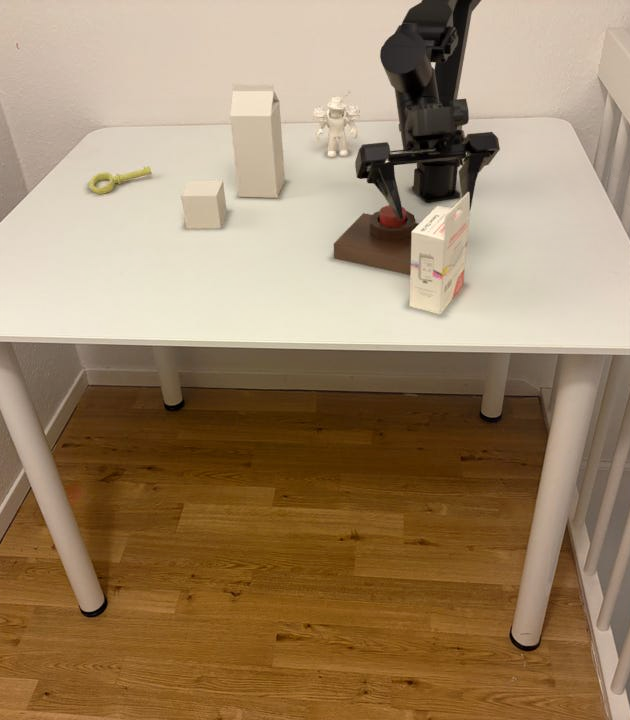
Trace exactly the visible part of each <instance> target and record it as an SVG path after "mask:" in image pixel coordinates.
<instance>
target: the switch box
mask: <svg viewBox="0 0 630 720" xmlns="http://www.w3.org/2000/svg"><path fill="white" fill-rule="evenodd" d="M379 215H380V210H378V211H375V212H373V214H370V213H365V212H363V213H362V214H361V215H360V216H359V217H358V218H357V219H356V220H355V221H354V222H353V223H352V224H351V225H350V226H349V227H348V228H347V229H346V230H345V231H344V232H343V233H342V234H341V235H340V236H339V238H338V239H336V241H334V242H333V259H335V260H338V261H343V262H347V263H352V264H357V265H362V266H366V267H371V268H375V269H380V270H385V271H389V272H394V273H397V274H402V275H403V274H404V275H408V276H410V274H411V237H412V234H411V232H412V231H413V230H414V229H415V228H416V227H417V226H418V225H419V224H420V222H417V220H416V217H415V215H414V214H413V213H412V212H410V211H408V210H406V221H405V223H404V224H402V225H399V226H386V225H382V224H381V223H380V222H379Z"/></svg>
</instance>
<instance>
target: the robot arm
mask: <svg viewBox="0 0 630 720" xmlns="http://www.w3.org/2000/svg"><path fill="white" fill-rule="evenodd" d="M480 2H482V0H421V1H420V2H418V3H417V4H415V5H413V6H412V7H411V8H409V9H408V10H407V13H406V14H405V15H404V18H403V20H402V21H401V24H399V25H398V26H397V28H396V29H395V32H394V33H393V34H392V35H390V36H389V37H388V38H387V39H386V40H385V42H384V43H383V45H382V46H381V47H380V53H379V58H380V63H381V65H382V67H383V69H384V72H385V74H386V76H387V79H388V81H389V83H390V86H392V87H393V89H394V94H395V101H396V102H395V103H396V110H397V116H398V122H399V123H398V129H399V130H398V131H399V132H400V137H401V143H402V149H396V150H391V147H390V145H389V142H388V141H385V142H376V143H375V142H374V143H364V144H361V146H360V147H359V149H358V151H357V155H356V157H355V161H354V163H355V165H354V166H355V168H354V169H355V175H356V178H357V179H359V180H364V179H366V183H367V184H368V185H369V184H370V185H371V184H373V185H374V186H375V187H376V189H378V191H379V193H380V194H381V195H382V196H383V198H385V200H386V202H387V203H388V205H390V207H391V208H392V210H393V212H394V213H395V215H396V217H397V218H398V220H402V218H403V214H402V207H403V205H402V202H401V196H400V193H399V189H398V185H397V180H396V174H395V173H396V171H395V166H401V165H402V166H403V165H412V164H416V168H414V170H413V185H411V190H412V191H413V192H414V193H415V194H416V195H417V196H418V197H419V198H420V199H421V200H422V201H423V202H424V203H426V204H430V203H435V202H441V201H446V200H450V199H455V198H460V197H461V199H462V198H463V197H464V196H465V195H466V193H467V192H469V193H470V211H471V209H472V205H473V198H474V192H475V187H476V182H477V178H478V175H479V173H480V172H481V171H482V170H483V168H484V167H486V166H488V165H490V163H491V162H492V161H493V160H494V158H495V157H496V156H497V154H498V153H499V152H500V150H501V148H500V142H499V138H498V136H497V135H496V134H495V133H494V132H493V131H486V132H485V131H484V132H476V133H467V134H465V131H464V130H463V126H465V125H468V123H469V121H470V118H469V117H470V115H469V113H470V112H469V107H468V102H467V98H458V96H459V90H460V83H461V79H462V72H463V66H464V61H465V54H466V49H467V44H468V43H467V42H468V38H469V32H470V27H471V26H470V25H471V19H472V14H473V11H474V10H475V9H476V8H477V7H478V5H479V4H480ZM432 63H434V67H433V66H432ZM460 166H461V167H460ZM459 168H460V169H459ZM458 169H459V171H458ZM458 176H459V177H458ZM458 178H459V184H460V185H459V186H460V192H459V191H458V190H457V181H458Z"/></svg>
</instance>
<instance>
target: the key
mask: <svg viewBox="0 0 630 720" xmlns="http://www.w3.org/2000/svg"><path fill="white" fill-rule="evenodd" d="M148 175H152V169H151V167H150V165H147V166H143V168H142V169H139V170H133V171H131V172H126V173H123V174H119V173H116V174H115V176H113V175H112V174H111V173H110V172H100V173H97V174H96V175H94V176H92V178H91V179H90V180H89V183H88V188H89V190H90V191H91V192H92V193H94V194H97V195H104V194H107V193H110V192H111V191H113V189H114V188H115V187H116V186H115V185H116V184H118V185H121V184H122V182H125V181H126V182H127V181H129V180H133V179H136V178H140V177H145V176H148ZM104 180H108V181H109V182H107V184H106V185H103V186H100V187H96V186H95V185H96V184H97V183H98V182H100V181H104Z"/></svg>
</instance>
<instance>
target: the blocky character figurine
mask: <svg viewBox="0 0 630 720" xmlns="http://www.w3.org/2000/svg"><path fill="white" fill-rule="evenodd" d="M351 92H352V90H348V91H347V92H345V93H341V97H340V96H332V97H331V99H330V101H329V102H327V110H326V111H325V109H324V107H323V106H322V107H321V106H320V105H319V107H315V108H314V111H313V112H312V115H313V121H315V120H316V121H317V122H318V123H319V125H318V128H317V131H316V133H315V136H316V139H317V140H319V139H320V135H322V136H324V129H325V127H327V128H328V129H329V130H328V147H327V157H329V158H334V157H336V156H337V150H336V143H337V142H336V141H337V139H338V143H339V144H338V145H339V146H338V154H339V155H340V157H346V156H348V155H349V152H348V148H347V138H346V131H345V127H346V126H347V124H348V125H349V127H350V130H349V136H351V135H352V134H353V139H357V137H358V134H359V132H358V129H357V126H356V123H355V120H357V118H358V117H360V109H359V106H357V105H352V104H351V105H348V109H346V107H347V103H346V102H344V100H346V98H347V97H349V96H350V95H351ZM352 117H354V118H352ZM320 119H321V120H320Z"/></svg>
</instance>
